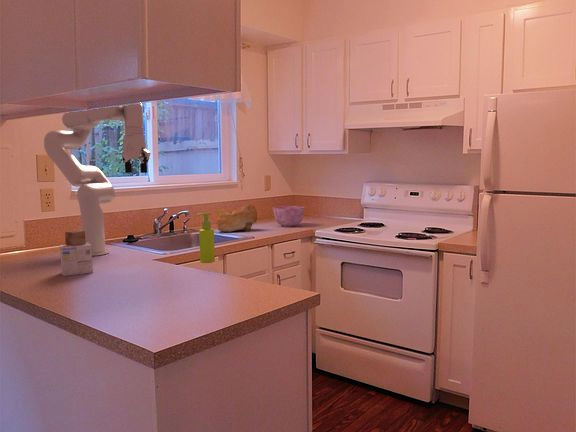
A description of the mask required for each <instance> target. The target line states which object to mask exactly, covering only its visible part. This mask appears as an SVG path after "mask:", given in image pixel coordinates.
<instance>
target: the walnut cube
mask: <svg viewBox="0 0 576 432" xmlns="http://www.w3.org/2000/svg"><path fill="white" fill-rule="evenodd" d="M64 235H65V236H64V237H65V238H64V239H65V241H64V243H65V245H69V246H78V245H84V244H86V239H85V231H82V229H81V230H78V229H75V230H68V231H64Z"/></svg>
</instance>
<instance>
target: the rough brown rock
mask: <svg viewBox="0 0 576 432" xmlns="http://www.w3.org/2000/svg"><path fill="white" fill-rule="evenodd" d="M257 213H258V212H257V209H256V207H255V206H254V205H252V204H251V205H250V204H249V205H248V204H247V205H245V204H244V205H242V206H241V207H240V208H239V209H237V210H233V211H230V210H228V209H226V208H224V207H223V208H222V207H221V208H218V209H217V210H216V214H217V220H216V221H217V225H216V227H217V230H218V231H220V232H223V233H226V232H229V233H231V232H234V231H235V232H236V231H241V230H243V231H244V232H249V231H251V229H252V227H253V224H255V223H257V221H258V214H257Z"/></svg>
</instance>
